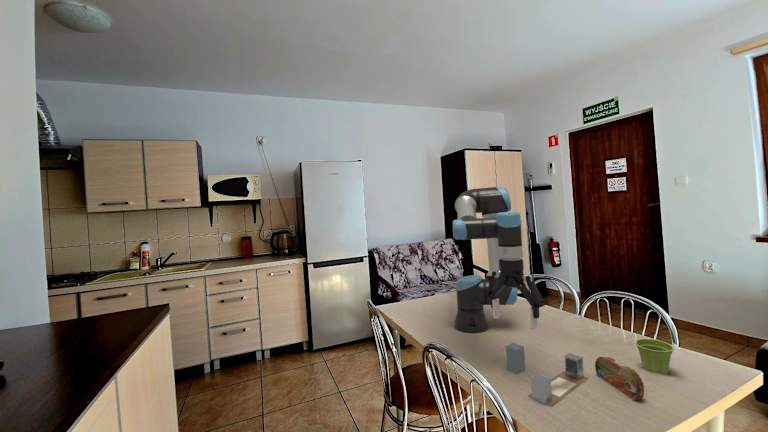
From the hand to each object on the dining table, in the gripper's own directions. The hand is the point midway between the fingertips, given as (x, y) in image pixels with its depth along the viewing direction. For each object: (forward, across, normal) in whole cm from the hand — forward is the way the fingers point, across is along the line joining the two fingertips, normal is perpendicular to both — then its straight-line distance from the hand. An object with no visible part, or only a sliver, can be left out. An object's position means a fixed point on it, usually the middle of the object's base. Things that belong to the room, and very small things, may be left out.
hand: (514, 322), depth 107 cm
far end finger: (+16, +14, +9) cm, 23 cm away
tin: (+17, +25, +12) cm, 32 cm away
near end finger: (+16, +14, -10) cm, 23 cm away
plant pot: (+17, +28, +32) cm, 46 cm away
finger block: (+17, 0, 0) cm, 17 cm away
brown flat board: (+17, +14, 0) cm, 22 cm away
